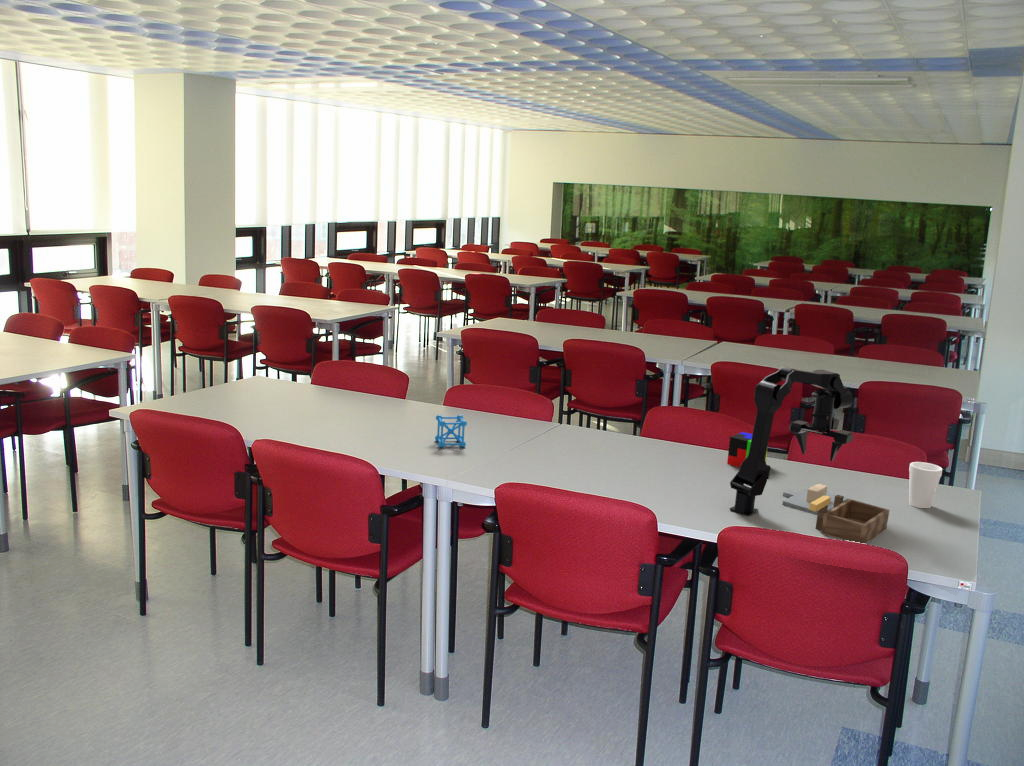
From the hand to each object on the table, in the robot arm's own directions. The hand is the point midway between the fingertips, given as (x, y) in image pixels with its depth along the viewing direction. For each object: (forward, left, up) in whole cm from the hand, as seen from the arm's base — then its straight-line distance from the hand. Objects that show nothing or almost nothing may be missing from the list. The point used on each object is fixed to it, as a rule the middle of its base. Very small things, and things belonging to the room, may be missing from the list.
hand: (817, 457), depth 287 cm
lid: (-4, -1, -13) cm, 14 cm away
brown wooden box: (-19, -19, -13) cm, 30 cm away
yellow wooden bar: (-28, -13, -6) cm, 31 cm away
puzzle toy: (+16, +31, -14) cm, 38 cm away
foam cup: (+21, -27, -14) cm, 37 cm away
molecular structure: (-50, +114, -14) cm, 125 cm away
